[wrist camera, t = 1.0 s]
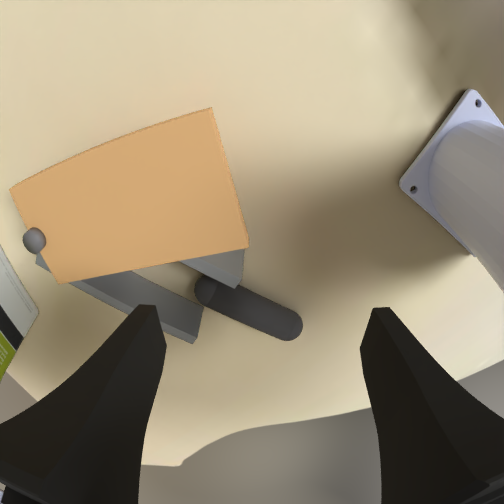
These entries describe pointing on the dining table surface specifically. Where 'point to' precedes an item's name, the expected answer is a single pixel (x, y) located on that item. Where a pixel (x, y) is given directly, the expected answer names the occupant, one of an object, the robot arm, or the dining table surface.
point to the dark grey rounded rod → (249, 308)
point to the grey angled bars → (162, 291)
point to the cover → (134, 202)
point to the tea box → (13, 312)
